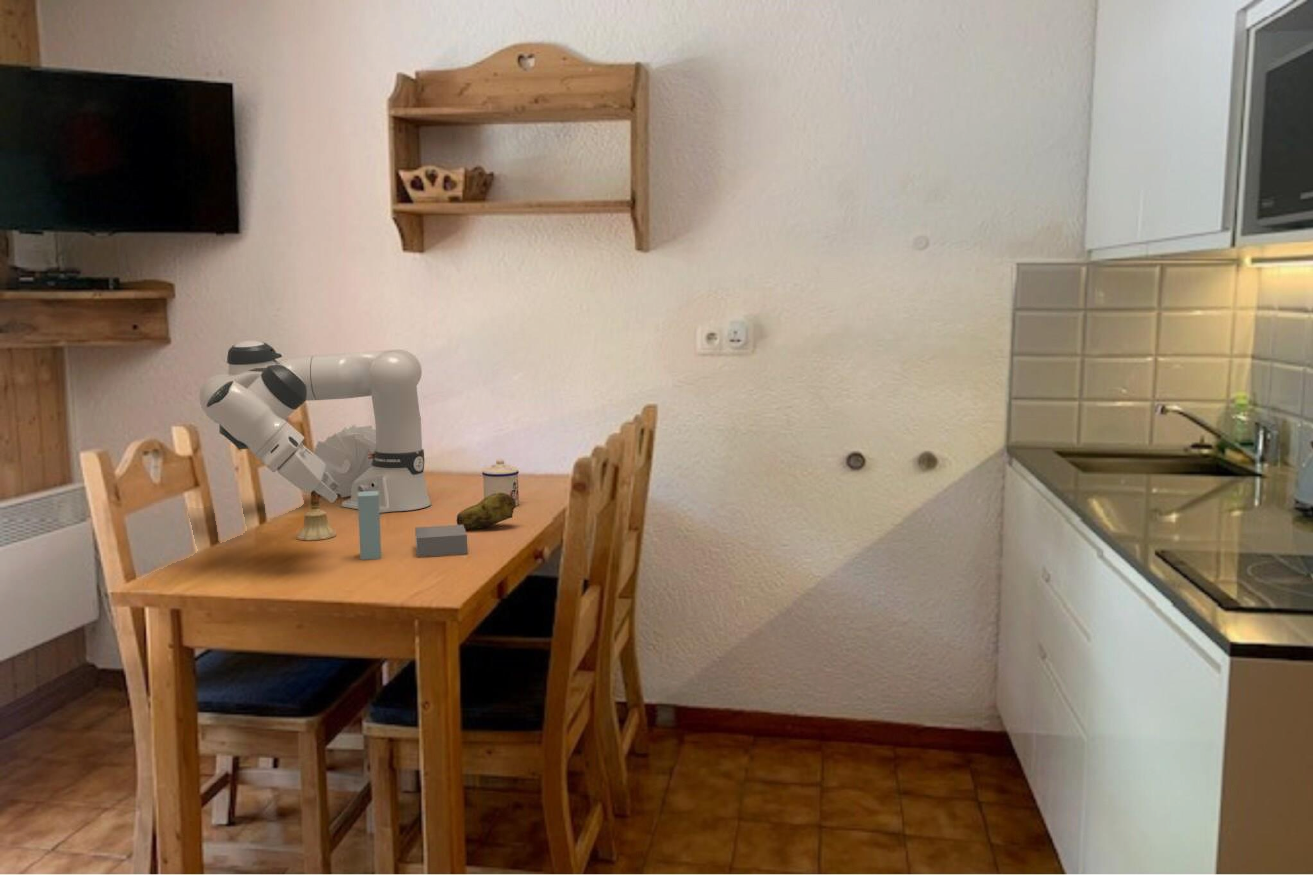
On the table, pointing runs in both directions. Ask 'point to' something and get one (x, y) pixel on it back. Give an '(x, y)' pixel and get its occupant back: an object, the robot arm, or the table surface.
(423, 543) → the slate slab
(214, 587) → the table surface
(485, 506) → the potato
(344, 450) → the spiral staircase
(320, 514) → the hand bell
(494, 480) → the teacup with lid
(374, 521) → the teal block
